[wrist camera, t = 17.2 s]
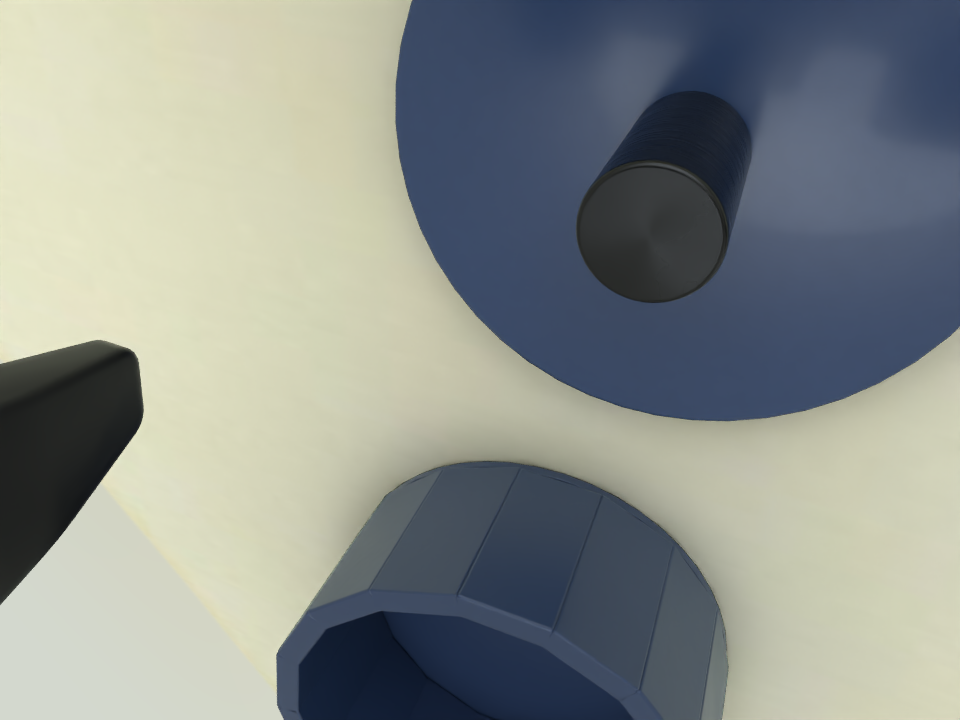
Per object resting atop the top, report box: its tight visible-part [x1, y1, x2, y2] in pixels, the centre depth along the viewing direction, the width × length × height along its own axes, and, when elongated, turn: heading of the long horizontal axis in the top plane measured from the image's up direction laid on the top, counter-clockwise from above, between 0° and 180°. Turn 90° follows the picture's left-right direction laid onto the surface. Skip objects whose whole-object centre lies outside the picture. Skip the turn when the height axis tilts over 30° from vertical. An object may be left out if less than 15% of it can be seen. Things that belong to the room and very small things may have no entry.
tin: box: [276, 461, 728, 720], centre depth 25 cm, size 12×12×5 cm
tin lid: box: [396, 0, 960, 421], centre depth 16 cm, size 13×13×6 cm
